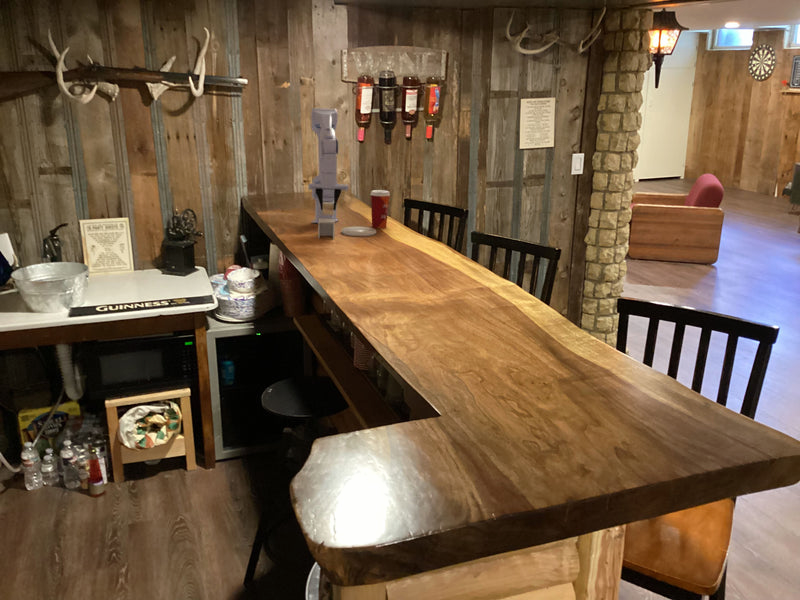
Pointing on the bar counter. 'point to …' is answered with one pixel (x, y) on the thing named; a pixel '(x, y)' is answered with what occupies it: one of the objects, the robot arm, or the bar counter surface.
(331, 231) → the grey open box
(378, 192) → the paper cup
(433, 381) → the bar counter surface
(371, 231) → the ceramic dish
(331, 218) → the robot arm
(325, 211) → the maple block
